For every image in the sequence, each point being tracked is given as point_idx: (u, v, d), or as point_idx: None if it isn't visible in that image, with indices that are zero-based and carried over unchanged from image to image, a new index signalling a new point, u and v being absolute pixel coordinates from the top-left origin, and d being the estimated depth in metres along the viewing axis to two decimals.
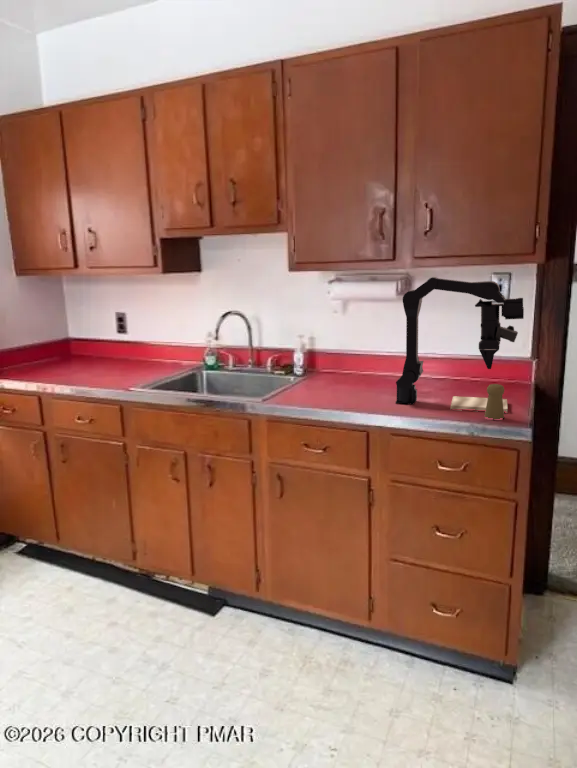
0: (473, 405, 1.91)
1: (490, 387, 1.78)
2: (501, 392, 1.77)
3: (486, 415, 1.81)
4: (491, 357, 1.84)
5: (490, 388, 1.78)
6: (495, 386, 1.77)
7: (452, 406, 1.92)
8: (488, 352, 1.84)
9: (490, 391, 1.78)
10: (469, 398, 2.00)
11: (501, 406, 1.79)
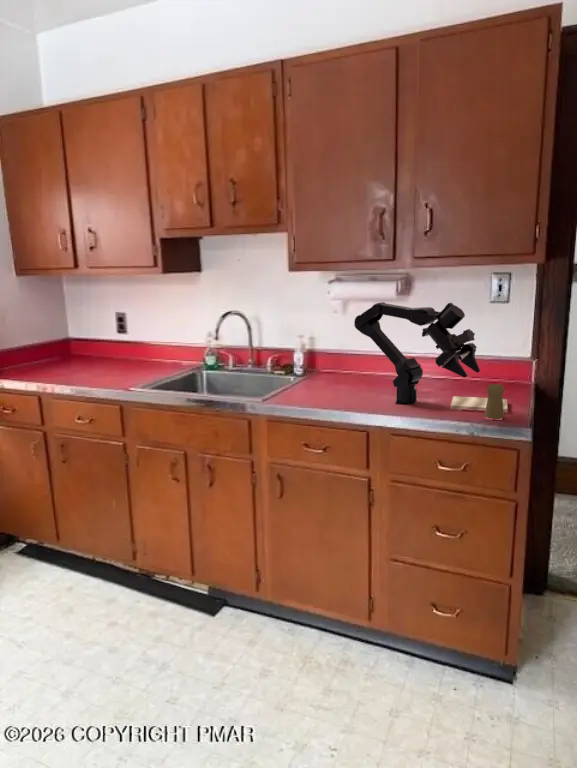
0: (473, 405, 1.91)
1: (490, 387, 1.78)
2: (501, 392, 1.77)
3: (486, 415, 1.81)
4: (457, 366, 1.80)
5: (490, 388, 1.78)
6: (495, 386, 1.77)
7: (452, 406, 1.92)
8: (452, 364, 1.82)
9: (490, 391, 1.78)
10: (469, 398, 2.00)
11: (501, 406, 1.79)
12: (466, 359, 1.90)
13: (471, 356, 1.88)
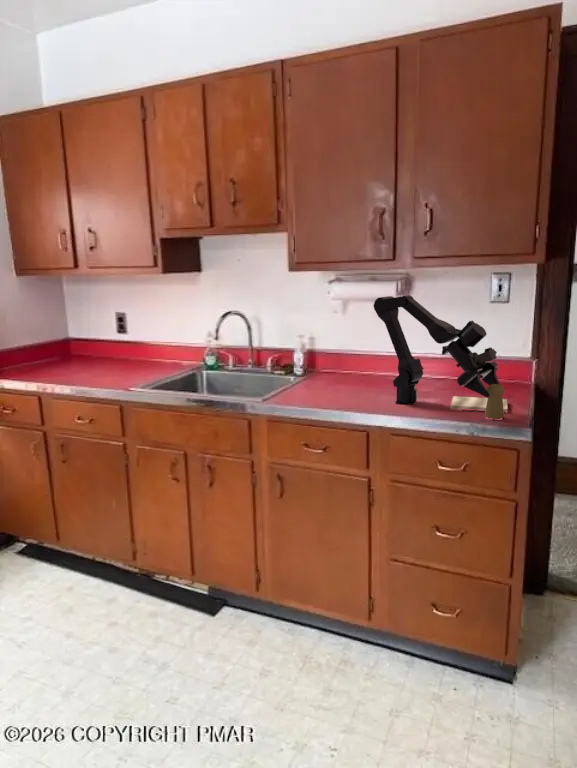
0: (473, 405, 1.91)
1: (490, 387, 1.78)
2: (501, 392, 1.77)
3: (486, 415, 1.81)
4: (479, 385, 1.76)
5: (490, 388, 1.78)
6: (495, 386, 1.77)
7: (452, 406, 1.92)
8: (474, 383, 1.78)
9: (490, 391, 1.78)
10: (469, 398, 2.00)
11: (501, 406, 1.79)
12: (487, 378, 1.86)
13: (493, 375, 1.84)
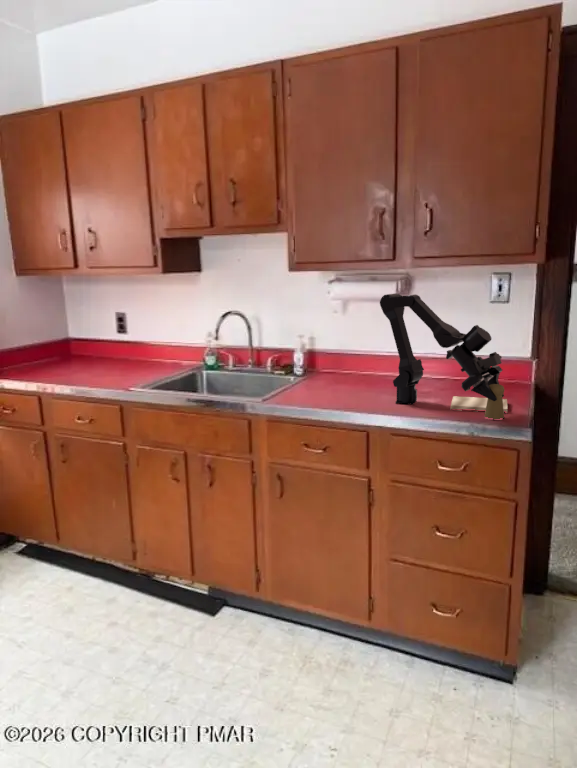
0: (473, 405, 1.91)
1: (490, 387, 1.78)
2: (501, 392, 1.77)
3: (486, 415, 1.81)
4: (487, 389, 1.77)
5: None
6: (495, 386, 1.77)
7: (452, 406, 1.92)
8: (482, 387, 1.78)
9: None
10: (469, 398, 2.00)
11: (501, 406, 1.79)
12: (489, 383, 1.84)
13: (495, 380, 1.82)
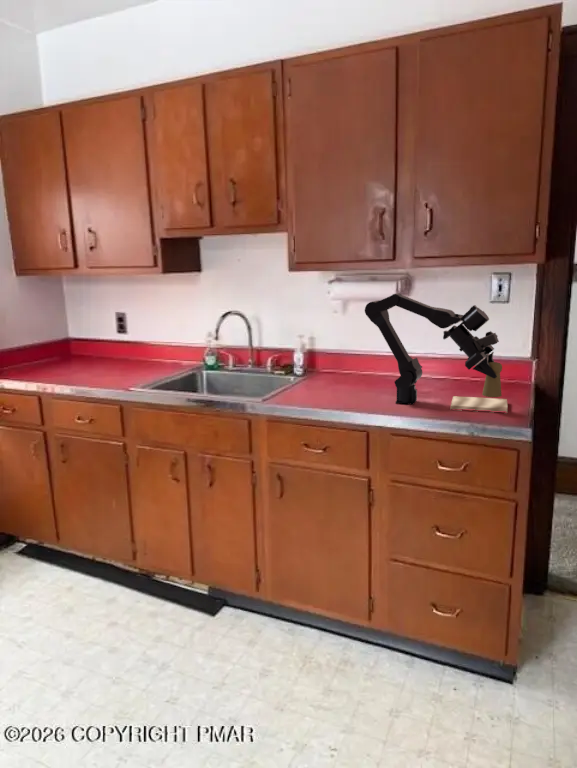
0: (473, 405, 1.91)
1: (490, 365, 1.84)
2: (500, 369, 1.84)
3: (485, 392, 1.86)
4: (488, 367, 1.83)
5: None
6: (495, 364, 1.84)
7: (452, 406, 1.92)
8: (482, 365, 1.83)
9: None
10: (469, 398, 2.00)
11: (499, 383, 1.85)
12: None
13: (490, 359, 1.88)
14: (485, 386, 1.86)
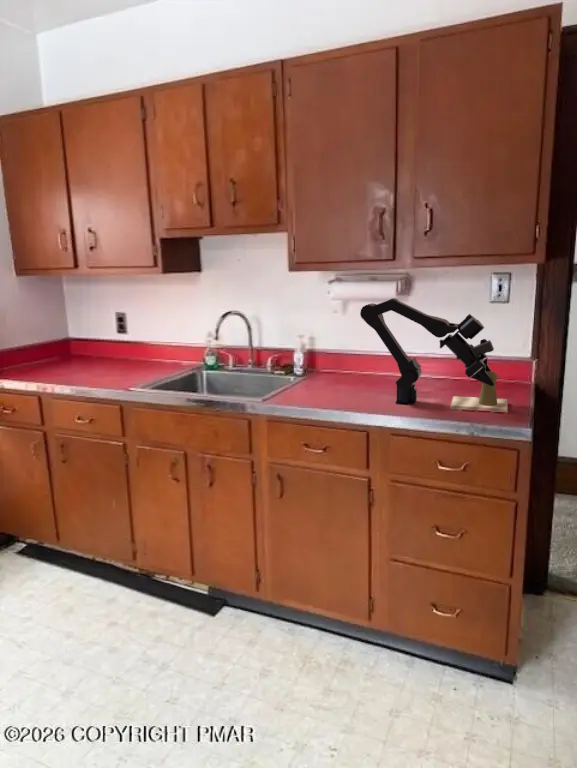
0: (473, 405, 1.91)
1: None
2: (496, 378, 1.89)
3: (482, 401, 1.91)
4: (485, 375, 1.85)
5: None
6: (491, 373, 1.89)
7: (452, 406, 1.92)
8: (480, 373, 1.86)
9: None
10: (469, 398, 2.00)
11: (495, 391, 1.91)
12: None
13: (486, 364, 1.95)
14: (482, 395, 1.91)
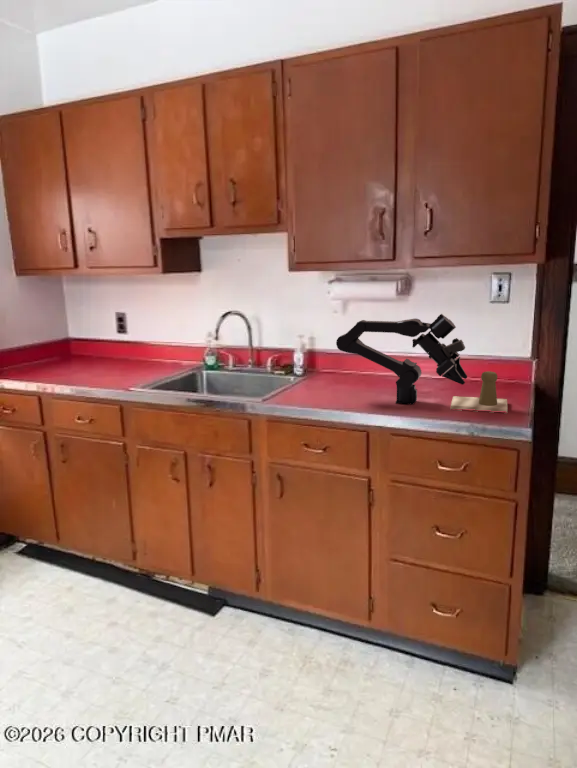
0: (473, 405, 1.91)
1: (486, 374, 1.89)
2: (496, 378, 1.89)
3: (482, 401, 1.91)
4: (456, 374, 1.89)
5: (487, 376, 1.89)
6: (491, 373, 1.89)
7: (452, 406, 1.92)
8: (451, 372, 1.89)
9: (486, 378, 1.89)
10: (469, 398, 2.00)
11: (495, 391, 1.91)
12: None
13: (458, 363, 1.98)
14: (482, 395, 1.91)
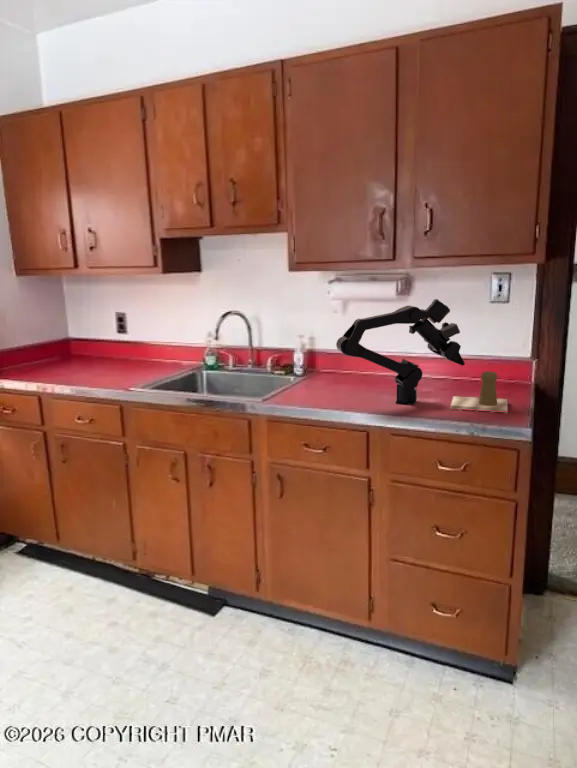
0: (473, 405, 1.91)
1: (486, 374, 1.89)
2: (496, 378, 1.89)
3: (482, 401, 1.91)
4: (459, 356, 1.96)
5: (487, 376, 1.89)
6: (491, 373, 1.89)
7: (452, 406, 1.92)
8: (453, 354, 1.96)
9: (486, 378, 1.89)
10: (469, 398, 2.00)
11: (495, 391, 1.91)
12: (441, 350, 2.06)
13: None
14: (482, 395, 1.91)
